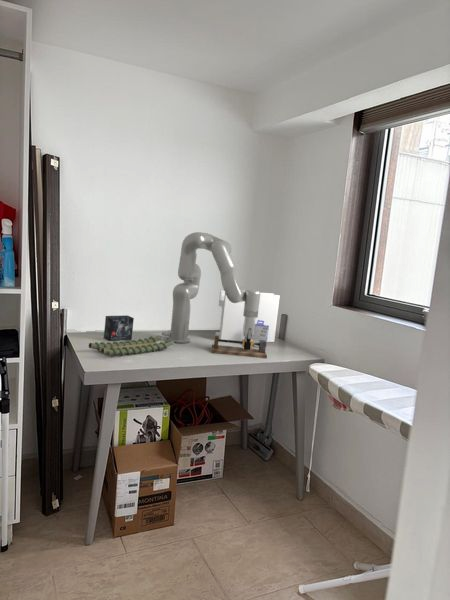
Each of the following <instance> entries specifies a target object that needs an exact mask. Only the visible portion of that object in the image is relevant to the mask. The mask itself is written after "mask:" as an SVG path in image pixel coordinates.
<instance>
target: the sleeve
mask: <svg viewBox="0 0 450 600" xmlns="http://www.w3.org/2000/svg"><path fill="white" fill-rule="evenodd" d="M245 340H246V339H242V341H243V344H241V347H242V348H244V344H245ZM252 343H253V340H252V339H251V347H250V348H253V346H252Z"/></svg>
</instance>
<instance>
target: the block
mask: <svg viewBox="0 0 450 600" xmlns="http://www.w3.org/2000/svg"><path fill="white" fill-rule="evenodd" d="M280 298H281V295H280V294H275V293H272V292H271V293H270V292H260V302H259V310H258V318H255V324H257V321H258V320H261V321H264V325H268V326H269V330H268V338H267V343H269V342H271V343H274V342H275V340H276V331H277V322H278V315H279V314H278V313H279V308H280V307H279V306H280ZM244 304H245V302H238V303H232V302H231V301H230V300H229V299H228V298H227V296H226V293H225V291H224V290H221V289H220V292H219V299H218V306H219V307H220V308H221V314H220V315H221V316H220V325H219V326H220V327H219V332H218V331H216V332H215V335H214V337H215V336H219V339H223V340H233V341H242V339H245V336H244V335H243V333H242V332H243V325H244V318H245V317H244V316H243V313H244ZM258 323H263V322H258Z"/></svg>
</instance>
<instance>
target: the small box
mask: <svg viewBox="0 0 450 600" xmlns="http://www.w3.org/2000/svg"><path fill="white" fill-rule="evenodd" d="M134 319H135V318H134V317H132V316H130V315H127V314H126V315H125V314H124V315H105V321H104V330H103V331H104V332H103V339H104V340H106V341H108V342H115V341H116V342H118V341H119V342H121V341H127V340H129V341H132V339H133V329H134Z"/></svg>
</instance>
